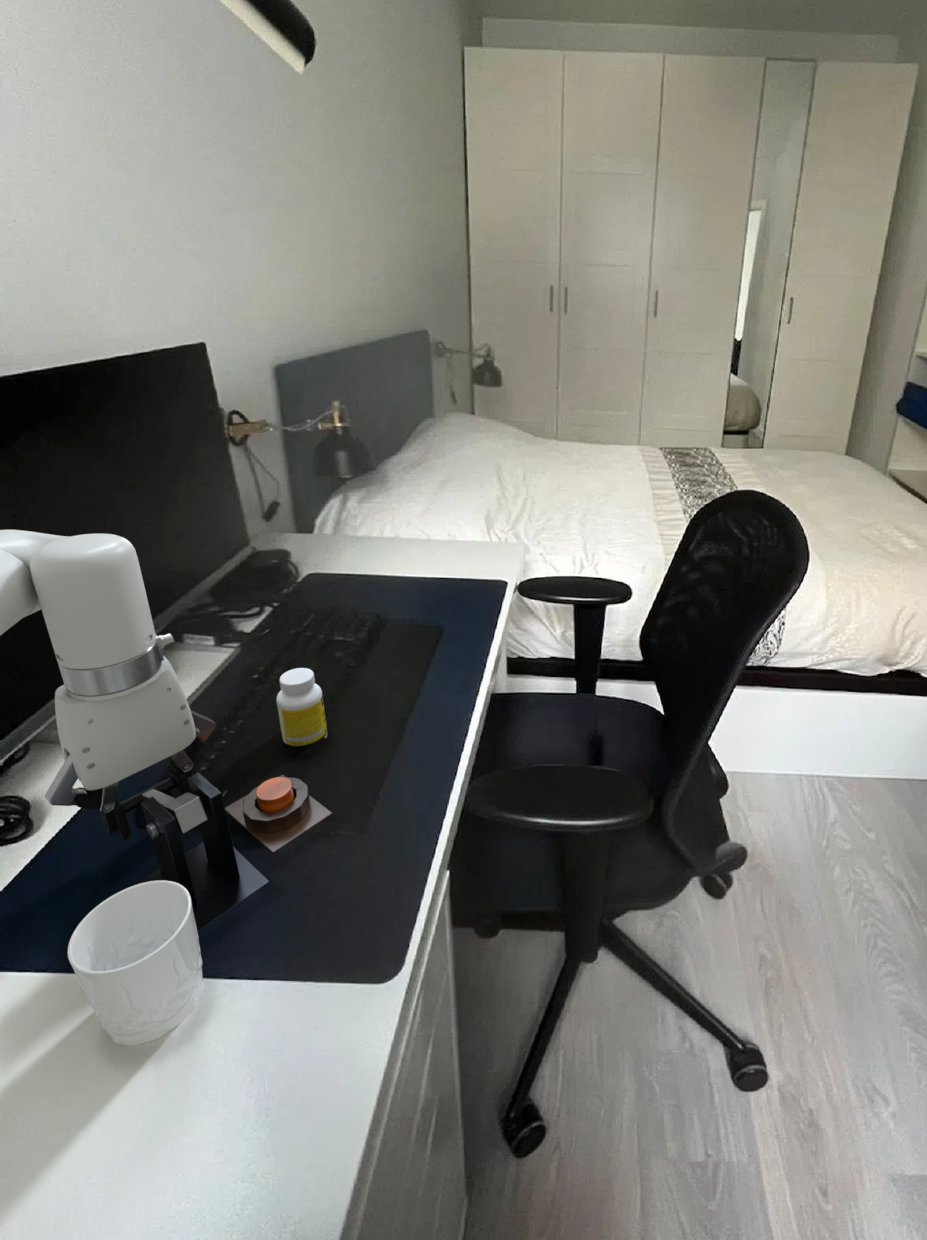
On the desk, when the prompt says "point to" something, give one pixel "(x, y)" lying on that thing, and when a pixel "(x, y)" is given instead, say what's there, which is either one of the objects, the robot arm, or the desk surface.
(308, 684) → the supplement bottle
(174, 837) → the bracket
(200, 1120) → the desk surface
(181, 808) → the lever
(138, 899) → the white cup
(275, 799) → the button
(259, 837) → the button box
